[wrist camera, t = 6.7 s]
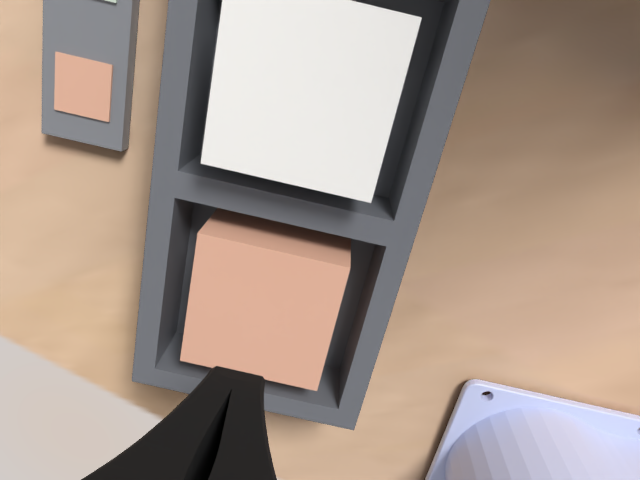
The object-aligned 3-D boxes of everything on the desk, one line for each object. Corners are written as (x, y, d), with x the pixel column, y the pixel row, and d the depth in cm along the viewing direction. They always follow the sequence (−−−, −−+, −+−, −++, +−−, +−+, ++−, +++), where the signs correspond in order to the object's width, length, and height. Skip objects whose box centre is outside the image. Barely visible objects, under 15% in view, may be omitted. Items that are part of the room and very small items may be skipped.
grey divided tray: (565, -328, 14) (630, -442, 10) (353, 373, 23) (353, 430, 19) (253, -409, 13) (222, -551, 10) (164, 331, 22) (132, 381, 19)
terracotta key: (351, 234, 19) (350, 267, 16) (322, 344, 21) (317, 391, 18) (220, 204, 19) (197, 232, 16) (203, 317, 21) (179, 360, 18)
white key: (409, 20, 15) (421, 17, 13) (368, 176, 17) (371, 203, 15) (249, -18, 15) (226, -30, 13) (225, 143, 17) (200, 163, 14)
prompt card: (146, -93, 16) (138, -98, 16) (128, 148, 19) (120, 152, 19) (55, -115, 16) (42, -121, 16) (50, 130, 19) (40, 133, 19)
